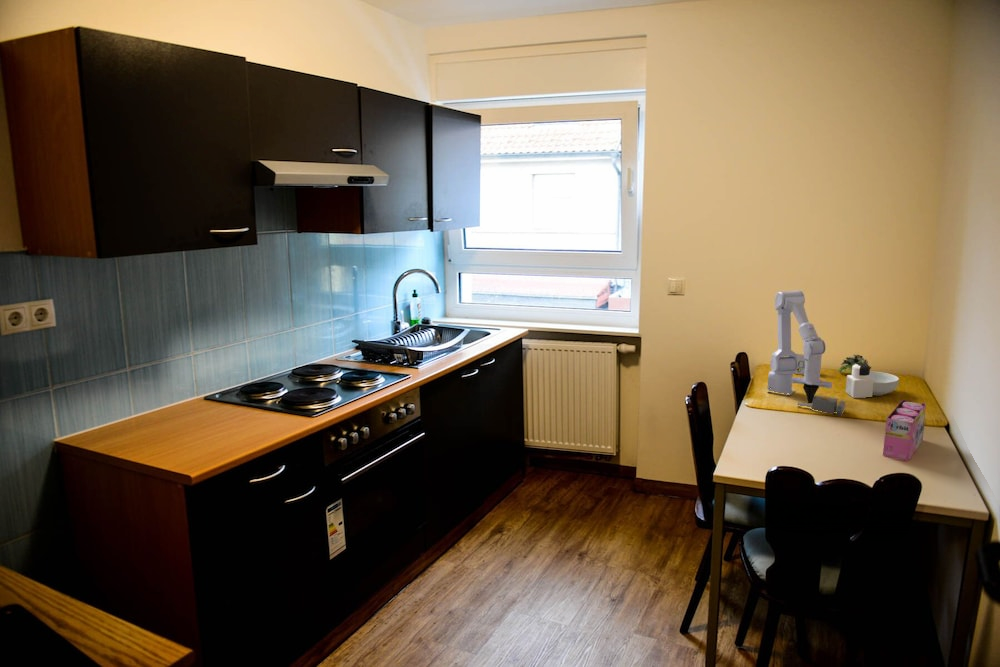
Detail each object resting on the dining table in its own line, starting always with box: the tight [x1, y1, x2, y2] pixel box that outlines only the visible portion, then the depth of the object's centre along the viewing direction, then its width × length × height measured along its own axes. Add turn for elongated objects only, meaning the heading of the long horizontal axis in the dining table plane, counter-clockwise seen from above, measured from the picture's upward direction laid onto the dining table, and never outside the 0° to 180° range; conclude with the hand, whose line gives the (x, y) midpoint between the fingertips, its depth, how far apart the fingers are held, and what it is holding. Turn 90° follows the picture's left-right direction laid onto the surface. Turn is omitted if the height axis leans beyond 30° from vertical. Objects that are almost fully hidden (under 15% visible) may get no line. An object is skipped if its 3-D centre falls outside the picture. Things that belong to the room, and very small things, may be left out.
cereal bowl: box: [869, 370, 900, 396], centre depth 299 cm, size 17×17×7 cm
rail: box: [797, 400, 846, 417], centre depth 281 cm, size 16×7×4 cm, turn 54°
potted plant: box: [837, 354, 872, 375], centre depth 323 cm, size 11×11×12 cm
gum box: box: [882, 399, 927, 462], centre depth 243 cm, size 24×8×14 cm, turn 139°
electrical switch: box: [793, 353, 805, 376], centre depth 327 cm, size 9×5×9 cm, turn 53°
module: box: [811, 394, 838, 415], centre depth 280 cm, size 8×5×6 cm, turn 54°
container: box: [845, 364, 874, 399], centre depth 295 cm, size 8×8×13 cm
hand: (810, 402), depth 283 cm, fingers closed
